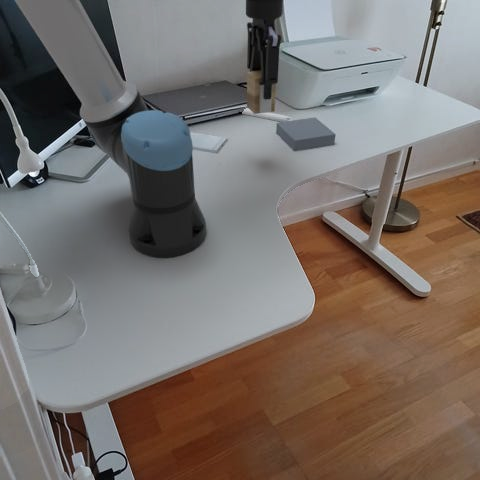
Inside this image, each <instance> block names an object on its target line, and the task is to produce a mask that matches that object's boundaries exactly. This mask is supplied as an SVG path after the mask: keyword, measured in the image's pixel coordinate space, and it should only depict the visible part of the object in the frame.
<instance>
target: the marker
mask: <svg viewBox="0 0 480 480" xmlns="http://www.w3.org/2000/svg"><path fill="white" fill-rule="evenodd" d="M245 108H246V109H244V111H243V112H242V114H241V115H246V116H250V117H255V118H260V119H264V120H269V121H273V122H274V121H275V122H278V123H279V122H286V121H293V119H292V117H290V116H288V115H283V114H278V113H275V112H266V113H258V114H254V113H253V112H252V111H251V110H250V109H249V108H248V107H245Z"/></svg>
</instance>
